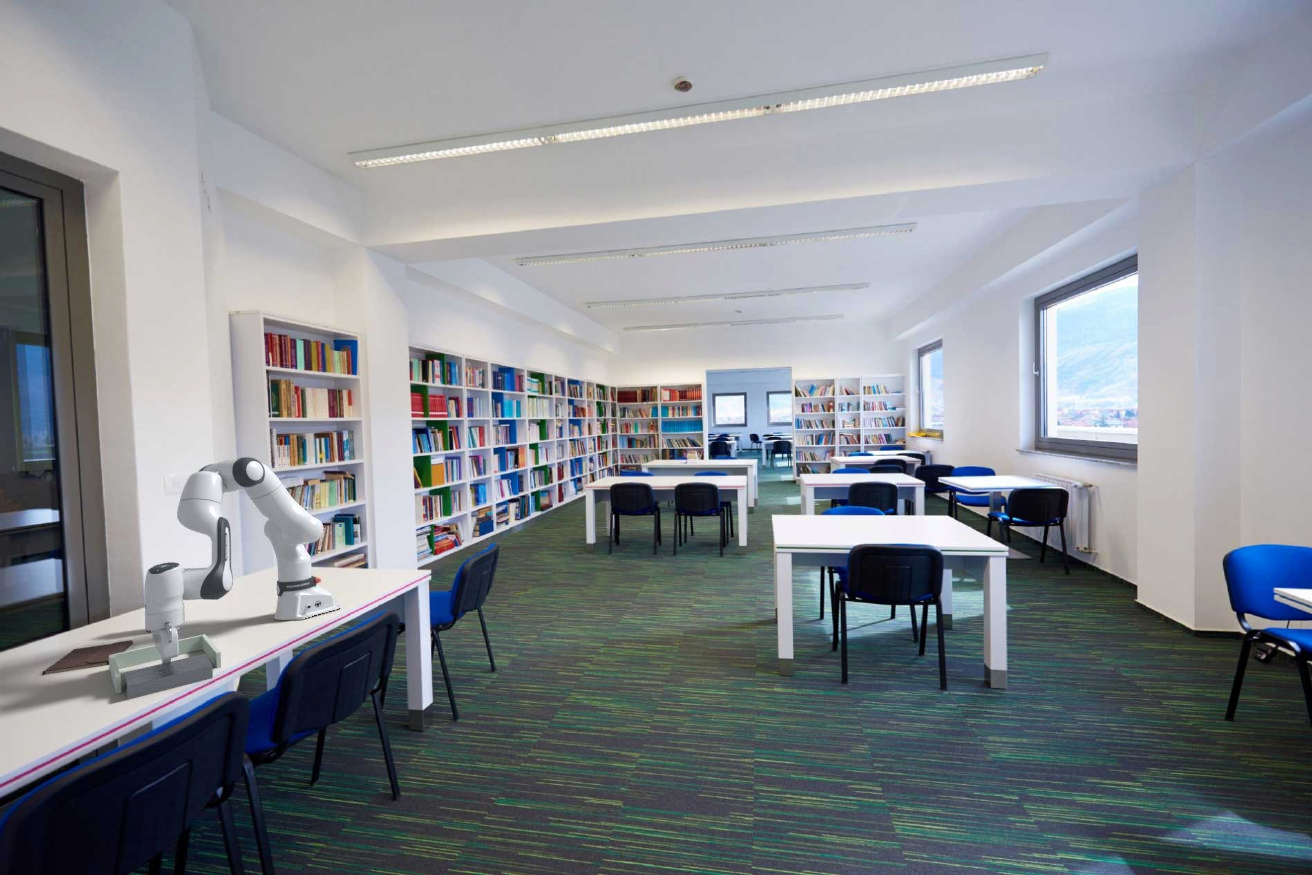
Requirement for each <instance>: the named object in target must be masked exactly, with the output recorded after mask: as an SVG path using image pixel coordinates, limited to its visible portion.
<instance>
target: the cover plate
mask: <svg viewBox="0 0 1312 875" xmlns="http://www.w3.org/2000/svg"><path fill="white" fill-rule="evenodd" d="M213 670H214V669H213V663H212V661H211V660H210V659H209V657H208V656H207V655H206V653H202V654H197V655H193V656H188V657H186V658H180V659H177V660H176V659H175V660H171V662H167V663H163V664H162V663H159V664H154V665H150V666H146V667H145V666H144V667H142V668H138V669H133V670H129V671H125V672H124V680H125V683H124V684H125V692H126V698H127V700H128V701H129V700H133V699H137V698H140V697H145V696H148V695H151V694H152V695H153V694H155V693H160V692H165V691H168V690H172V689H175V688H180V687H183V686H187V685H192V684H195V683H198V682H203V681H206V680H211V679H213V678H214V677H213V676H214V674H213V673H214V672H213Z"/></svg>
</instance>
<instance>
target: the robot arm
mask: <svg viewBox="0 0 1312 875" xmlns="http://www.w3.org/2000/svg"><path fill="white" fill-rule="evenodd" d="M240 490H244V491H245V493H246V495H247V496H248V497H249V499H250V500H251V501H252V502H253V504H254V506H255V508H257V509H258V511H259V512H260V513H261V515H262V516H264V517H266V518H267V519H268V520H266V522H265V524H264V526H263V527H264V528H263V531H264V535H265V536H266V538H268V540H269V541H270V543H271V546H272V548H273V551H274V554H275V558H276V562H277V580H276V594H277V603H276V609H275V613H274V617H273V619H275V620H277V621H291V620H292V621H293V620H296V621H298V620H299V621H301V620H305V618H307V619H309V618H308V617H310V618H313V617H312V616H314V615H317V616H319V615H318V614H320V613H325V612H326V611H331V610H333V609H336V608H340V607H341V608H342V604H341V603H340V602H337V601H335V596H334V594H333V593H332V591H331V590H329V589H326V588H325V587H323V586H321V585H319V584H320V583H321V582H322V578H321V577H318V576H313V574H312V556H311V555H310V554H309V552H308V551H307V550H306V547H305V545H308V544H312V543H315V542H318V540H320V539H321V537H322V536H323V534H324V525H323V522H322V521H321V520H320V519H318V518H317V517H315V516H313V515H311V513H309V511H307V510H306V509H305V508H304V507H302V505H300V504H299V503H298V502H297V501H296V500H295V499H294V498H293V497H292V495H291V494H290V493H289V491H288V490H287V489H286V487H285V485H284V484H283V482H282V481H281V480H280V479H279V477H278V475H277V474H275V472H274V471H273V470H272V469H271V468H270V467H269V466H268V465H267V464H265V463H263V462H261V461H260V460H258V458H257V459H256V458H253V457H249V456H248V457H247V456H246V457H243V456H242V457H239V458H231V459H225V460H223V461H220V462H219V461H218V462H216V463H211V464H207V465H205V466H203V467H202V468H200V469H199V470H198V471H196V472H193V473H192V474H191V475H189V477H188V479H187V480H186V483H185V484H184V487H183V490H182V492H181V495H180V499H179V502H178V506H177V511H176V516H177V520H178V522H179V523H180V524H181V525H182V526H183V527H184V528H186V529H188V530H190V531H193V532H195V533H200V534H203V535H204V536H205V535H206V536H208V537H209V539H210V541H211V563H210V565H209V566H208V567H198V568H196V567H193V568H192V567H191V568H190V567H189V568H185V567H182V566H181V564H180V563H179V562H173V561H171V562H163V563H160V564H156V565H153V566H151V567H150V568H148V569H147V572H146V574H145V579H144V589H143V590H144V601H145V600H146V609H145V608H144V625H145V626H144V628H145V630H146V629H147V630H151V631H150V633H151V636H152V642H153V645H155V646H156V648H157V650H158V652H159V654H160V655H161V659H160V660H161V664H163V663H167V662H171V661H172V659H174V658H178V656H179V655H178V654H179V645H178V640H179V634H178V630H180V625H182V624H184V623H185V618H186V617H185V603H184V602H183V601H195V600H196V601H197V600H206V601H208V600H209V601H210V600H211V601H212V600H213V601H214V600H220V599H222V598H223V597H225V595H227V594H228V593H229V592H230V591H231V590H232V588H233V585H234V575H233V571H232V540H231V539H232V536H231V526H230V525H231V524H230V522H229V520H228V519H227V518H225V517H224V516H223V514H222V506H223V499H224V494H225V493H231V492H236V491H240ZM325 614H326V613H325ZM314 617H315V616H314Z"/></svg>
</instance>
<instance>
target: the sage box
mask: <svg viewBox="0 0 1312 875" xmlns="http://www.w3.org/2000/svg"><path fill="white" fill-rule="evenodd" d="M178 645H179V654H178V656H180V655H184V654H188V653H192V652H196V651H200V650H201V651H203V653H204V654H206V655H207V657H208V658H209V660H210V662H211V663H212V665H214V667H215V668H216V669H218V668H222V657H221V656H222V655H221V651H220V650H219V649H218V648H217V646H216V645H215V644H214V643H213V642H212V641H211V639H210V638H209V637H208V635H207V634H206V633H203V634H199V635H196V636H195V635H194V636H190V637H187V638H182V639H178ZM158 660H159V661H160V660H161V655H160V654H159V652H158V650H157V648H156V646H155V644H153V645H150V646H145V647H141V648H136V649H132V650H128V651H126V650H125V651H124V652H122V653H117V654H113V655H109V665H108V668H109V669H108V670H109V674H110V676H111V677H110V678H111V681H112V683H113V687H114V691H115V694H116V695H117V694H122V676H121V673H120V669H124V668H129V667H132V666H137V665H141V664H146V663H151V662H154V661H158Z"/></svg>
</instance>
